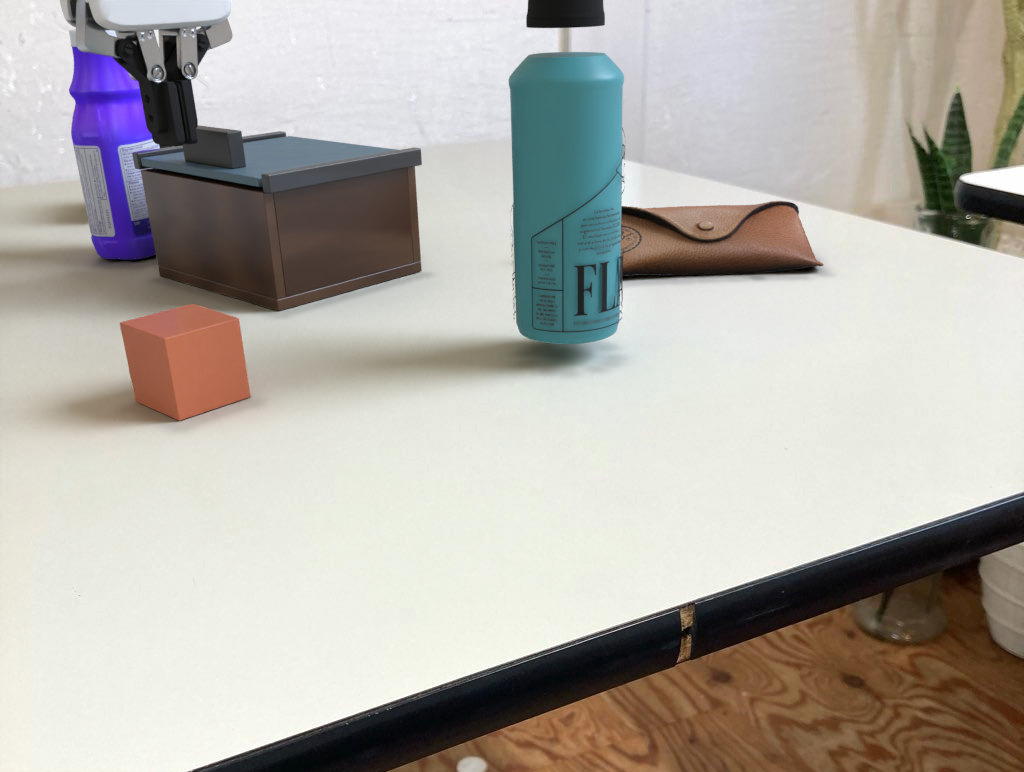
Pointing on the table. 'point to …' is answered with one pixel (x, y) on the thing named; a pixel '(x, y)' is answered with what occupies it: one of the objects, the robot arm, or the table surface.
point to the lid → (252, 155)
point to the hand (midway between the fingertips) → (175, 142)
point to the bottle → (110, 154)
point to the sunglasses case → (714, 239)
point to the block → (186, 360)
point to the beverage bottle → (567, 184)
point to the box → (287, 227)
